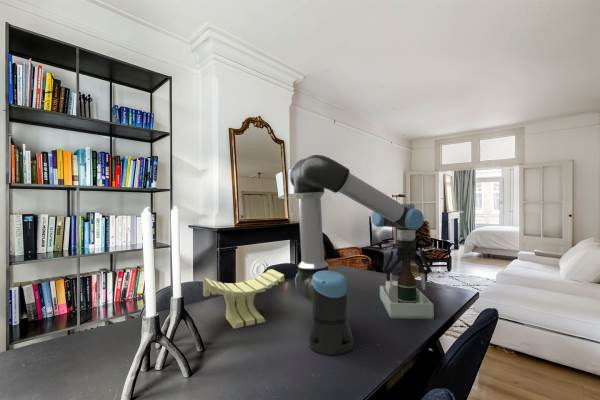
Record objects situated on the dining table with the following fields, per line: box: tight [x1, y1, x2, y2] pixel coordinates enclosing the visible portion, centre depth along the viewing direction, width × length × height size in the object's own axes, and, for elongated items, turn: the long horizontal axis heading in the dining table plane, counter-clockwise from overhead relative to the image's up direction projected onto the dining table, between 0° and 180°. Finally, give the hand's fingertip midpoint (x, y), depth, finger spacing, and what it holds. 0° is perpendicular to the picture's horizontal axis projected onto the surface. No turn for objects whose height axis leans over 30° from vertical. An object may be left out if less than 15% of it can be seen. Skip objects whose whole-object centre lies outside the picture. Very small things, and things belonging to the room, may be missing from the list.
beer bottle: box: [397, 255, 417, 303], centre depth 126 cm, size 8×8×24 cm
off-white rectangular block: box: [385, 280, 398, 303], centre depth 139 cm, size 12×8×8 cm, turn 84°
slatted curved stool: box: [202, 268, 285, 330], centre depth 123 cm, size 30×16×18 cm, turn 119°
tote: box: [379, 285, 435, 320], centre depth 132 cm, size 17×26×6 cm, turn 174°
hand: (406, 288), depth 126 cm, fingers open, 13 cm apart
